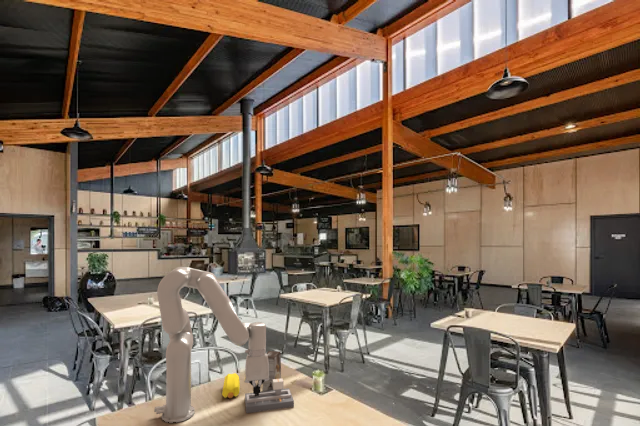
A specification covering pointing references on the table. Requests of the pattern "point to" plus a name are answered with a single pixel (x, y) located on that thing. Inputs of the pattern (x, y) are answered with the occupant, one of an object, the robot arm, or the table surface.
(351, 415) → the table surface
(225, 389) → the yellow rounded capsule
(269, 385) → the coffee box
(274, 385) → the fader tab
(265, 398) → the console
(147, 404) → the table surface
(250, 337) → the robot arm
